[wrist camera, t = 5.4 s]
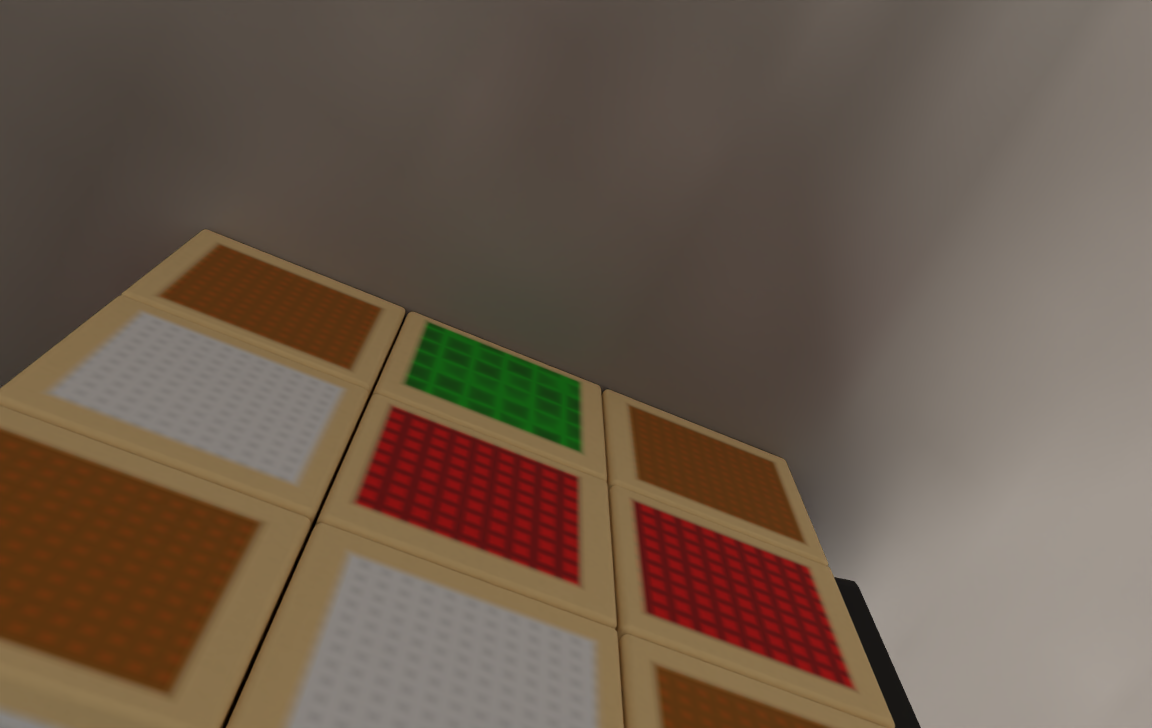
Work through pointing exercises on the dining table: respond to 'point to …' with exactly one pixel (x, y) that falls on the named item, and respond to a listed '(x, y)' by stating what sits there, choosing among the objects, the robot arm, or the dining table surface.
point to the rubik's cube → (387, 531)
